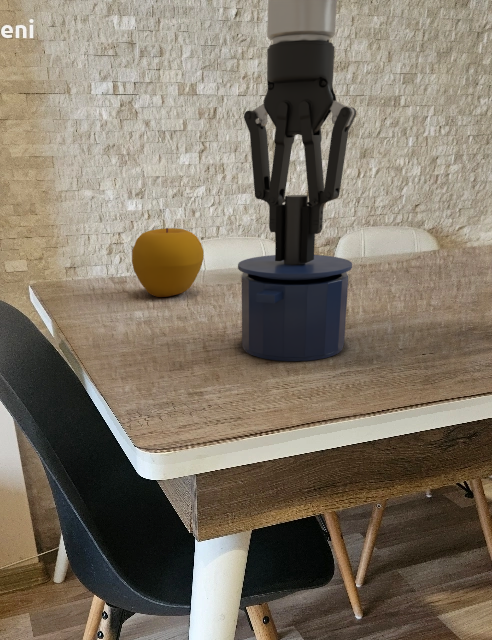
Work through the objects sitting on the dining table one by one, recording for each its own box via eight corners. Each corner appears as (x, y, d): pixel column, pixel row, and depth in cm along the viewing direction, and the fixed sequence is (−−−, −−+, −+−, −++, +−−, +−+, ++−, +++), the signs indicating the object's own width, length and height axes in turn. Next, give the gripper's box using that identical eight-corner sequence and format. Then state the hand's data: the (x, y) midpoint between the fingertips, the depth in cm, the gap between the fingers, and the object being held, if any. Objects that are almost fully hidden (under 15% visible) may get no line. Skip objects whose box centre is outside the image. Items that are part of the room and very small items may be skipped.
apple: (203, 286, 128) (201, 222, 123) (206, 300, 116) (204, 231, 111) (136, 288, 127) (131, 225, 122) (132, 303, 116) (127, 234, 111)
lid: (365, 266, 89) (371, 192, 84) (330, 286, 77) (335, 202, 73) (264, 260, 95) (265, 190, 90) (218, 278, 83) (216, 199, 79)
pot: (361, 334, 95) (366, 265, 91) (316, 372, 80) (320, 292, 76) (273, 325, 101) (274, 259, 96) (216, 359, 86) (214, 284, 81)
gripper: (379, 40, 74) (363, 259, 85) (250, 50, 80) (250, 252, 91) (360, 32, 68) (345, 269, 79) (222, 44, 75) (226, 261, 85)
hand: (294, 259), depth 85 cm, fingers closed on lid, 3 cm apart
